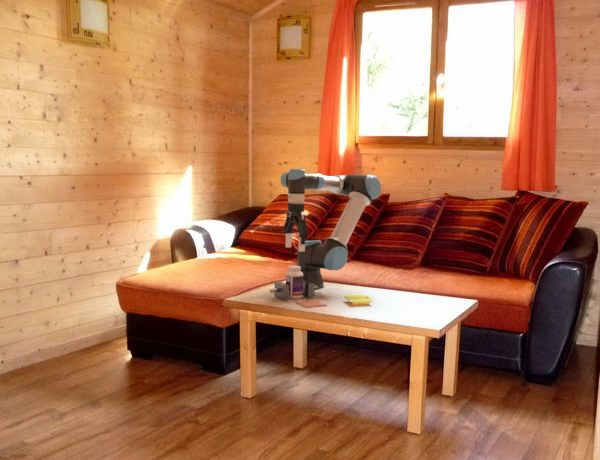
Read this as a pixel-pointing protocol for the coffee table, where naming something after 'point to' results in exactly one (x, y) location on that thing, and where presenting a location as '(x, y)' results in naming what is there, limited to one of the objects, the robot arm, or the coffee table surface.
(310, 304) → the tile
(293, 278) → the pill bottle
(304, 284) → the vise
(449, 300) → the coffee table surface
